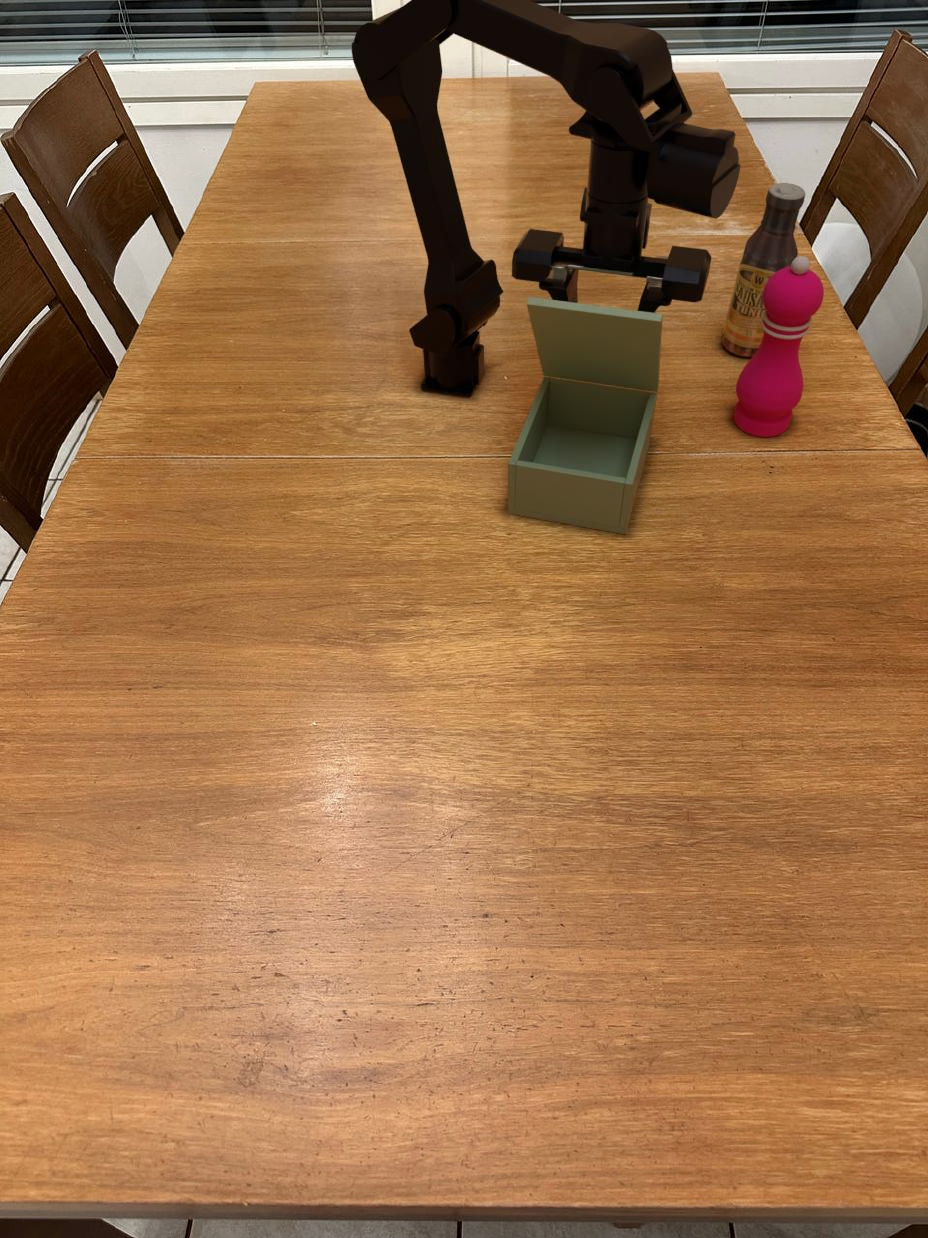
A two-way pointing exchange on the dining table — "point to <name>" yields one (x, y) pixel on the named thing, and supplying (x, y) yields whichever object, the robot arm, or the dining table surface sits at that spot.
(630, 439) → the green box
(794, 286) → the pepper mill
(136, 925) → the dining table surface
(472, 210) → the dining table surface
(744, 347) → the sauce bottle
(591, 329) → the lid
